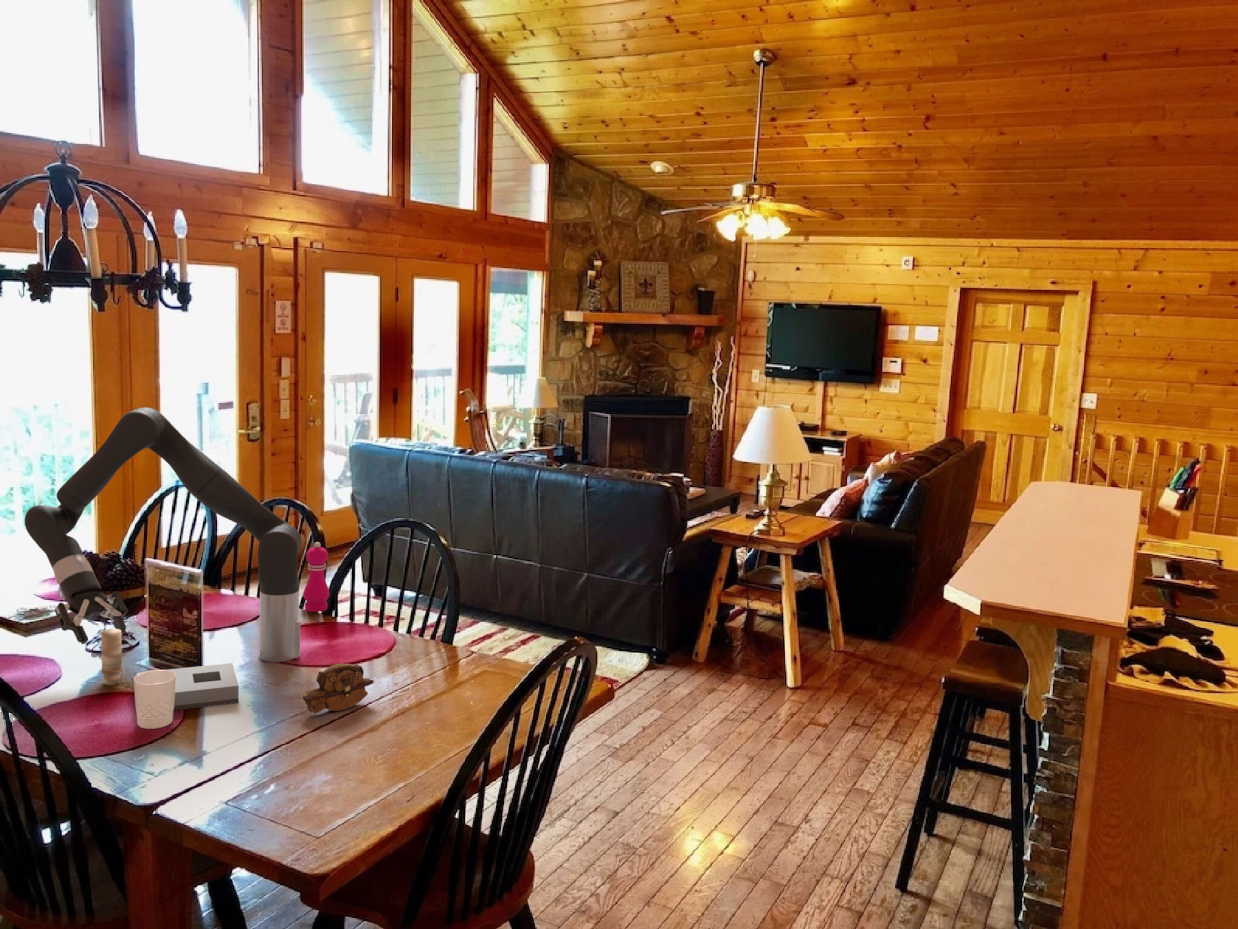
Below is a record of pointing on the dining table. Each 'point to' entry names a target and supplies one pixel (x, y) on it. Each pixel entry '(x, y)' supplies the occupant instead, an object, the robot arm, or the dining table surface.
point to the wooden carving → (337, 688)
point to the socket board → (205, 686)
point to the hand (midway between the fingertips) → (104, 637)
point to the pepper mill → (316, 580)
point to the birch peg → (111, 656)
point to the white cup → (154, 698)
